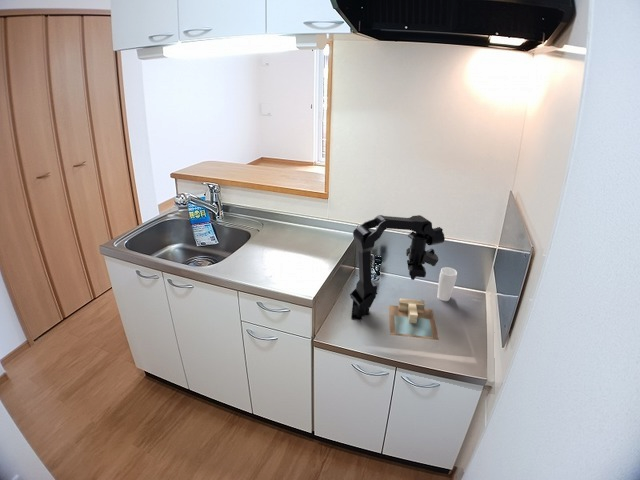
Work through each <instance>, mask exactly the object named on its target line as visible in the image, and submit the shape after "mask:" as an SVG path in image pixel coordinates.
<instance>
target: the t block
mask: <svg viewBox="0 0 640 480" xmlns="http://www.w3.org/2000/svg"><path fill="white" fill-rule="evenodd" d="M397 306H398V308H399V311H407V313H408V322H409V323H416V322H417V317H418V314H417V312H418V313H423V312H424V309H425V306H426V305H425V300H421V299H420V300H419V299H409V298H401V297H400V298H399V300H398V305H397Z"/></svg>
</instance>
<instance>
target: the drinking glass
mask: <svg viewBox="0 0 640 480" xmlns="http://www.w3.org/2000/svg"><path fill="white" fill-rule="evenodd" d="M457 276H458V271H457V270H456V269H455V268H453V267H447V266H444V267H441V269H440V273H439V276H438V285H437V294H436V296H437V299H438V300H440V301H442V302H448V301H450V299H451V296H452V294H453V289H454V287H455V284H456V281H457Z"/></svg>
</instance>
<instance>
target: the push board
mask: <svg viewBox="0 0 640 480" xmlns="http://www.w3.org/2000/svg"><path fill="white" fill-rule="evenodd" d="M388 314H389V315H388V316H389V318H388V319H389V320H388V321H389V335H392V336H400V337H410V338H411V337H412V338H419V339H429V340H438V341H439V340H440V339H439V338H440V337H439V334H438V330H437V324H436V320H435V316H434V310H433V309H431V308H424V312H423V313H418V312H417V314H418V317H417V322H416V323H409V322H408V313H407V311H399V308H398V305H391V304H388Z"/></svg>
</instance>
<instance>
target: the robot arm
mask: <svg viewBox="0 0 640 480" xmlns="http://www.w3.org/2000/svg"><path fill="white" fill-rule="evenodd" d="M373 228H376V229H375V230H374V231H373V232H372V231H371V230H370V229H373ZM387 229H389V230H390V229H391V230H405V231H406V230H407V231H410V232H411V233H409V234H407V237H408V238H409V239H410V240H411V244H410V245H409V247H408V248H407V249H406V251H405V256H406V257H408V260H407V261H406V262H407V263H406V264H407V270H408V275H409V276H410V279H411V280H413V281H414V280H415V279H416V277H417V278H425V277H426V275H427V272H426V271H427V270H426V267H425V266H424V265H425V264H428V265H430V266H432V267H436V265H437V263H438V262H439V257H438V255H437V254H436V253H435V249H434V248H429V249H428V250H426V247H427V246H435V245H440V244H443V243H444V242H445V239H446V238H445V234H444V231H443V227H440V226H438V227H433V223H432V222H431V220H429V219H427V218H425V217H424V216H423V215H421V214H420V215H419V214H418V215H412V216H411V217H404V216H403V217H399V216H389V215H383V214H378V215H376V216H375V217H373V218H372V219H368V220H367V221H364V222H363V223H362V224H360V225H359V226H357V227H356V228H355V229H354V230H353V231H352V236H353V239H354V243H355V246H356V247H357V250H358V251H357V252H358V254H357V255H358V256H357V258H358V273H359V274H358V275H359V276H358V277H359V280H358V281H357V282H356V287H355V289H354V290H352V291H351V293H350V294H349V296H350V299H352V306H351V307H352V308H351V317H350V318H351V319H352V320H363V317H364V316H369V315H370V308H371V307H372V306H373V303H374V301H375V299H376V298H377V297H376V296H377V295H378V292H377V289H378V286H377V284H376V283H375V282H374V281H373V280H372V250H373V249H374V247H375V244H376V243H375V242H376V241H378V240H380V238H381V237H382V235H383V233H384V231H386V230H387Z"/></svg>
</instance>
